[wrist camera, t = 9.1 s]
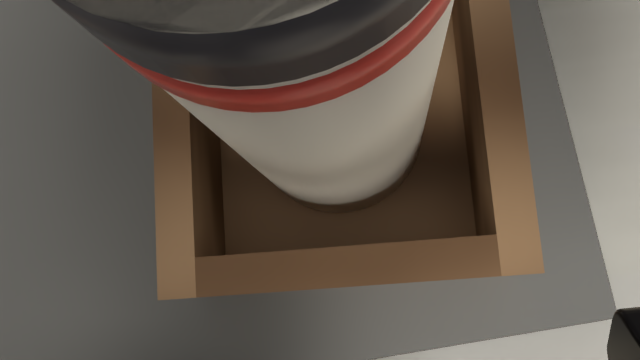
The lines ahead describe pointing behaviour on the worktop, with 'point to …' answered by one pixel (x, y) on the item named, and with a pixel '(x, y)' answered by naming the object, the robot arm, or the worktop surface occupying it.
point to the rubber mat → (246, 309)
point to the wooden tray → (374, 221)
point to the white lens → (292, 82)
